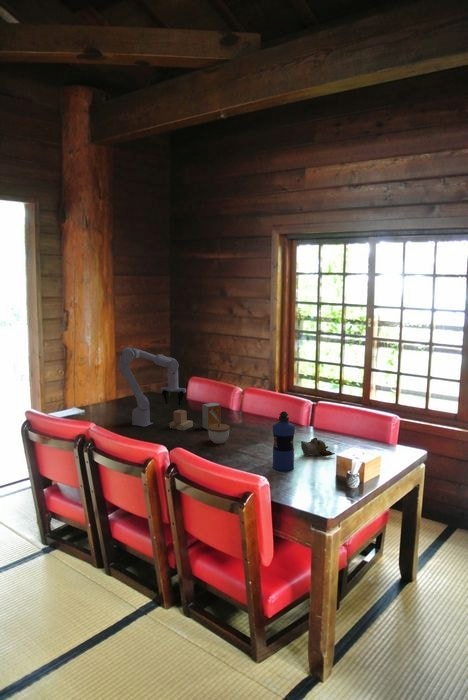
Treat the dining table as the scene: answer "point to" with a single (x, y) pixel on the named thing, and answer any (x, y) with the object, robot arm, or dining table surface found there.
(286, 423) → the water bottle
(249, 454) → the dining table surface
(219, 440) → the lidded jar
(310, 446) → the ceramic sculpture
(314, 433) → the dining table surface
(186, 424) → the maple base block
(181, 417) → the terracotta block
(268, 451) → the dining table surface
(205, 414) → the small box
